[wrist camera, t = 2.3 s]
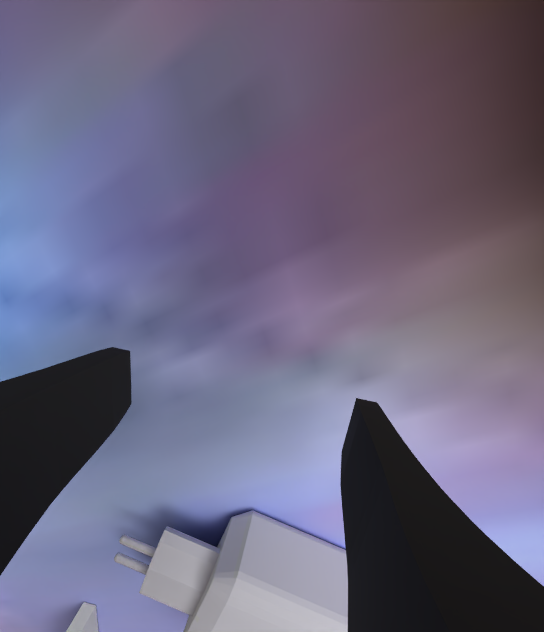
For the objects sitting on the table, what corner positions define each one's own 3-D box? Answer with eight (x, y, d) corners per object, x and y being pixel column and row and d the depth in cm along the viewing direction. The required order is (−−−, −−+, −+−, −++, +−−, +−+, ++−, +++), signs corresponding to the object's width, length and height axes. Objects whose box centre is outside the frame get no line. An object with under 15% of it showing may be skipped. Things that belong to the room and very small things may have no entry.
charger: (156, 458, 20) (397, 561, 20) (127, 552, 24) (331, 641, 23) (106, 535, 16) (416, 669, 15) (80, 636, 19) (330, 747, 19)
